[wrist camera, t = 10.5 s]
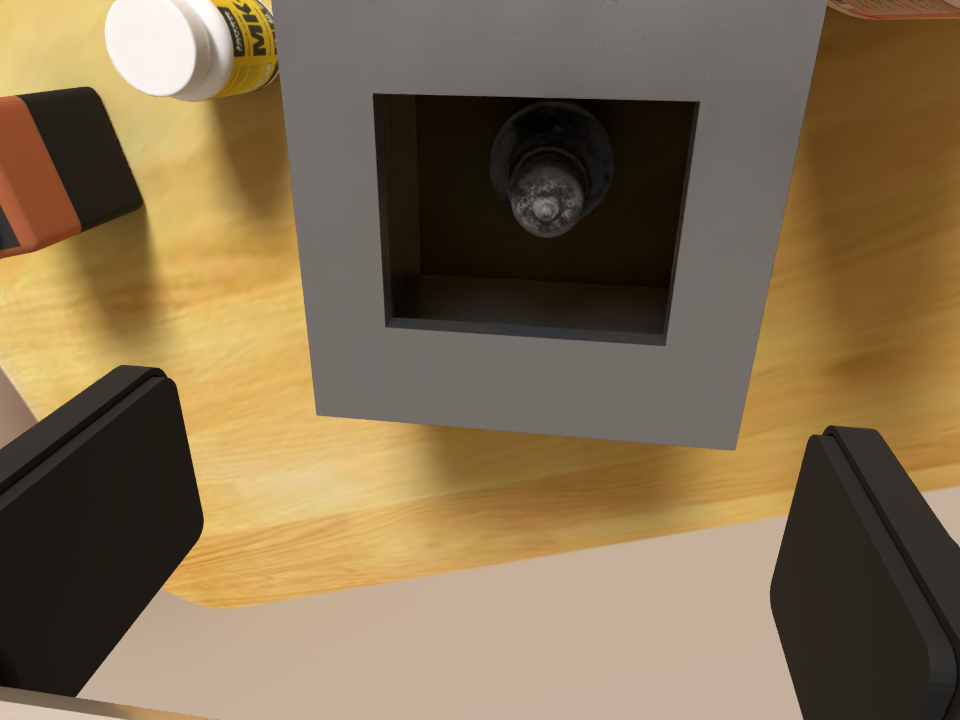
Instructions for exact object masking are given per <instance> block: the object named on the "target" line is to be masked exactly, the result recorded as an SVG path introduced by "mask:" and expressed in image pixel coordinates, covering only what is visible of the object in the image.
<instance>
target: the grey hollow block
mask: <svg viewBox="0 0 960 720" xmlns="http://www.w3.org/2000/svg"><path fill="white" fill-rule="evenodd" d="M271 2H272V11H273V20H274V29H275V39H276V48H277V57H278V66H279V75H280V84H281V94H282V103H283V112H284V121H285V130H286V139H287V149H288V158H289V167H290V176H291V185H292V194H293V204H294V213H295V222H296V231H297V240H298V249H299V259H300V268H301V277H302V286H303V295H304V304H305V314H306V323H307V332H308V341H309V350H310V359H311V368H312V378H313V387H314V396H315V405H316V414H317V415H319V416H331V417H343V418H355V419H366V420H378V421H390V422H402V423H414V424H426V425H438V426H449V427H461V428H473V429H485V430H497V431H509V432H521V433H532V434H544V435H556V436H568V437H580V438H592V439H604V440H616V441H627V442H639V443H651V444H663V445H675V446H687V447H699V448H710V449H722V450H734V451H735V448H736V443H737V439H738V434H739V429H740V424H741V419H742V414H743V410H744V405H745V400H746V395H747V390H748V385H749V380H750V376H751V371H752V366H753V361H754V356H755V351H756V347H757V342H758V337H759V332H760V327H761V322H762V317H763V313H764V308H765V303H766V298H767V293H768V288H769V284H770V279H771V274H772V269H773V264H774V259H775V254H776V250H777V245H778V240H779V235H780V230H781V225H782V221H783V216H784V211H785V206H786V201H787V196H788V191H789V187H790V182H791V177H792V172H793V167H794V162H795V158H796V153H797V148H798V143H799V138H800V133H801V128H802V124H803V119H804V114H805V109H806V104H807V99H808V95H809V90H810V85H811V80H812V75H813V70H814V65H815V61H816V56H817V51H818V46H819V41H820V36H821V32H822V27H823V22H824V17H825V12H826V7H827V2H828V0H271ZM415 94H420V95H460V96H500V97H540V98H581V99H621V100H661V101H695V107H694V114H693V122H692V129H691V136H690V143H689V150H688V157H687V165H686V172H685V179H684V186H683V193H682V201H681V208H680V215H679V222H678V229H677V237H676V244H675V251H674V258H673V265H672V272H671V280H670V287H669V288H658V287H640V286H623V285H605V284H588V283H570V282H553V281H535V280H518V279H500V278H483V277H465V276H448V275H430V274H420V243H419V209H418V174H417V140H416V106H415Z"/></svg>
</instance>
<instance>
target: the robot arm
mask: <svg viewBox="0 0 960 720" xmlns="http://www.w3.org/2000/svg"><path fill="white" fill-rule="evenodd" d="M203 523H204V518H203V512H202V507H201V502H200V497H199V492H198V488H197V483H196V478H195V473H194V468H193V463H192V459H191V454H190V449H189V444H188V439H187V434H186V430H185V425H184V420H183V415H182V410H181V405H180V400H179V396H178V391H177V387H176V384H175V382H174V381H173V380H172V379H170V378H167V375H166V374H165V373H164V371H163V370H161V369H160V368H153V367H142V366H130V365H121V366H119V367H116V368H115V369H113V370H112V371H111V372H109V373H108V374H106V375H105V376H104V377H102V378H101V379H99V380H98V381H96V382H95V383H94V384H92V385H91V386H89V387H88V388H87V389H85V390H84V391H82V392H81V393H79V394H78V395H77V396H75V397H74V398H72V399H71V400H70V401H68V402H67V403H65V404H64V405H63V406H61V407H60V408H58V409H57V410H55V411H54V412H53V413H51V414H50V415H48V416H47V417H46V418H44V419H43V420H41V421H40V422H38V423H37V424H36V425H34V426H33V427H31V428H30V429H29V430H27V431H26V432H24V433H23V434H22V435H20V436H19V437H17V438H16V439H15V440H13V441H12V442H10V443H9V444H7V445H6V446H5V447H3V448H2V449H0V720H217V719H211V718H205V717H199V716H192V715H186V714H179V713H173V712H166V711H160V710H153V709H146V708H140V707H134V706H127V705H120V704H114V703H107V702H100V701H94V700H88V699H81V698H75V697H76V696H77V695H78V693H79V692H80V691H81V689H82V688H83V687H84V686H85V684H86V683H87V682H88V681H89V679H90V678H91V677H92V675H93V674H94V673H95V672H96V670H97V669H98V668H99V666H100V665H101V664H102V662H103V661H104V660H105V659H106V657H107V656H108V655H109V654H110V652H111V651H112V650H113V649H114V647H115V646H116V645H117V643H118V642H119V641H120V640H121V638H122V637H123V636H124V634H125V633H126V632H127V631H128V629H129V628H130V627H131V625H132V624H133V623H134V622H135V620H136V619H137V618H138V616H139V615H140V614H141V612H142V611H143V610H144V609H145V608H146V606H147V605H148V604H149V602H150V601H151V600H152V599H153V597H154V596H155V595H156V593H157V592H158V591H159V590H160V588H161V587H162V586H163V585H164V583H165V582H166V581H167V579H168V578H169V577H170V576H171V574H172V573H173V572H174V570H175V569H176V568H177V567H178V565H179V564H180V563H181V561H182V560H183V559H184V558H185V556H186V555H187V554H188V553H189V551H190V550H191V549H192V547H193V546H194V545H195V544H196V542H197V541H198V539H199V538H200V535H201V533H202V529H203ZM770 603H771V609H772V613H773V617H774V620H775V623H776V627H777V630H778V634H779V637H780V641H781V644H782V648H783V651H784V654H785V658H786V661H787V665H788V668H789V672H790V675H791V678H792V682H793V685H794V689H795V692H796V695H797V699H798V702H799V706H800V709H801V712H802V716H803V719H804V720H960V547H959V546H958V544H957V543H956V542H955V541H954V540H953V539H952V538H951V537H950V536H949V534H948V533H947V531H946V530H945V528H944V527H943V526H942V524H941V523H940V521H939V520H938V518H937V517H936V515H935V514H934V513H933V511H932V509H931V508H930V507H929V505H928V504H927V502H926V501H925V499H924V498H923V496H922V495H921V493H920V492H919V490H918V489H917V487H916V486H915V485H914V483H913V482H912V480H911V479H910V477H909V476H908V474H907V473H906V471H905V470H904V468H903V467H902V465H901V464H900V463H899V461H898V460H897V458H896V457H895V455H894V454H893V452H892V451H891V449H890V448H889V446H888V445H887V444H886V442H885V441H884V439H883V438H882V436H881V435H880V433H879V432H878V431H877V430H874V429H866V428H854V427H842V426H831V425H830V426H828V427H827V428H826V429H825V431H824V432H823V434H822V435H812V436H811V437H810V438H809V440H808V443H807V446H806V450H805V454H804V458H803V462H802V465H801V469H800V473H799V477H798V481H797V485H796V489H795V493H794V496H793V500H792V504H791V508H790V512H789V516H788V520H787V523H786V527H785V531H784V535H783V539H782V543H781V547H780V551H779V554H778V558H777V562H776V566H775V570H774V574H773V578H772V582H771V587H770Z"/></svg>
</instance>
